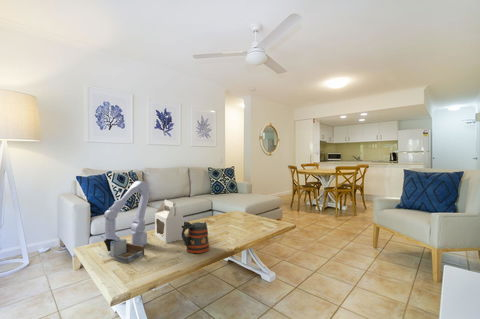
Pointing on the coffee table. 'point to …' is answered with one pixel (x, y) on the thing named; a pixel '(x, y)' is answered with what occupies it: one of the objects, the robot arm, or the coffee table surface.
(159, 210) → the gable box
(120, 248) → the medicine box
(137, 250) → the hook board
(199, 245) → the beer stein
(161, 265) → the coffee table surface
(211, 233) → the coffee table surface
